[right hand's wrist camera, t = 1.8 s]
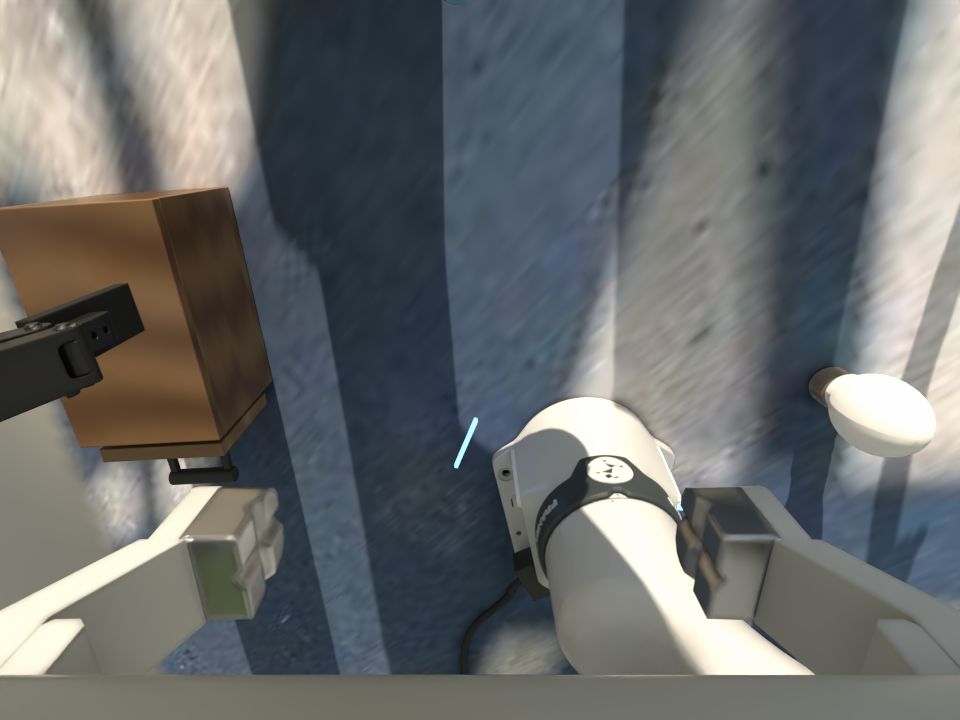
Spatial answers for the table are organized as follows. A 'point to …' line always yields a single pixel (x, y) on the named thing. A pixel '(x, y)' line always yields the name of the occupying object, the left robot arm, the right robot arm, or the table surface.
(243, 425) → the drawer
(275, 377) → the table surface
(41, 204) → the cabinet
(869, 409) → the light bulb
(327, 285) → the table surface
